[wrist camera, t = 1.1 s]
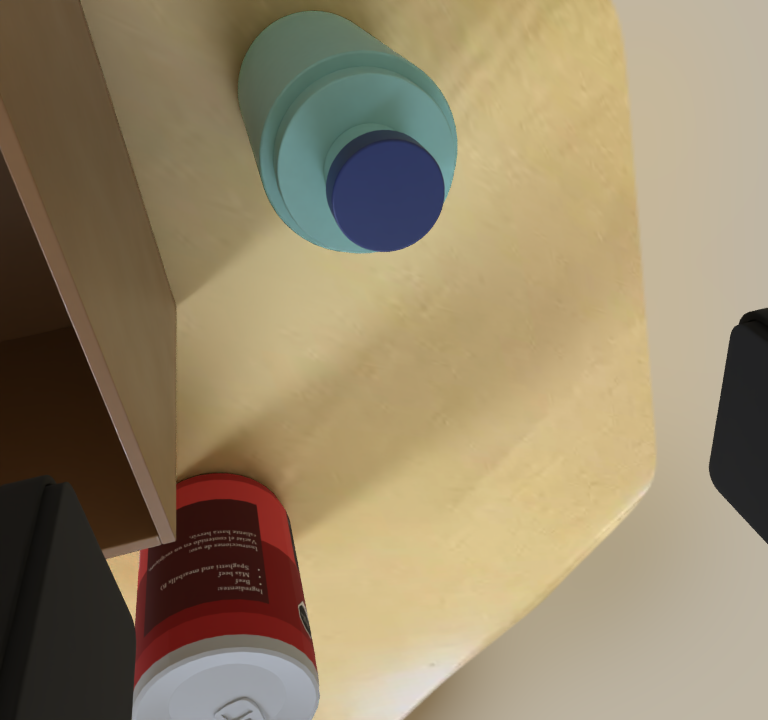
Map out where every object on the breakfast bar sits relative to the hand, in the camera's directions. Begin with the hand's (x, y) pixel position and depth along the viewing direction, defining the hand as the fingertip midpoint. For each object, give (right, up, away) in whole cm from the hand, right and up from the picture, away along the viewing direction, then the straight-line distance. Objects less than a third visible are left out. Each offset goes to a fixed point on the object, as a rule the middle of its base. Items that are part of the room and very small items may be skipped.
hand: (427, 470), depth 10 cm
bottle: (-3, +12, +19) cm, 23 cm away
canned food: (-10, -7, +29) cm, 32 cm away
